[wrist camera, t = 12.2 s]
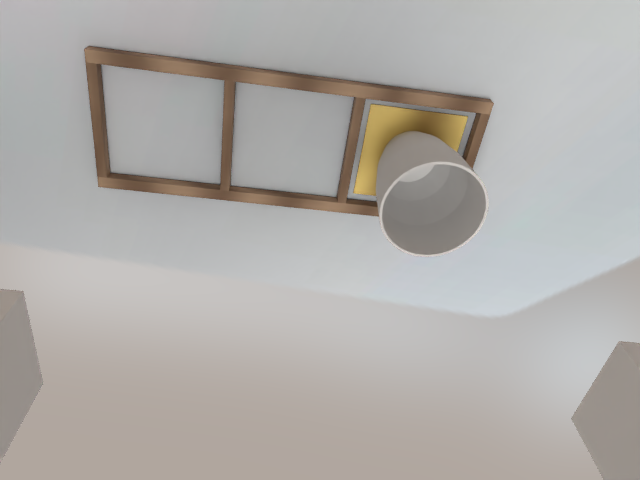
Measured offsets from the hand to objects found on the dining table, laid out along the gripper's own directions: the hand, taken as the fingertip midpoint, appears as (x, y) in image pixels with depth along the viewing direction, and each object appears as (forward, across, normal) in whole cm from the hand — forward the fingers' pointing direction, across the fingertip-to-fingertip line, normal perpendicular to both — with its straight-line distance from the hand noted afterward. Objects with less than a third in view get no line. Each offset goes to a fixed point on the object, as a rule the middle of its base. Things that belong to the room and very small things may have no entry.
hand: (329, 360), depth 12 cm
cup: (+35, +10, -9) cm, 37 cm away
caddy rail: (+35, 0, -9) cm, 36 cm away
